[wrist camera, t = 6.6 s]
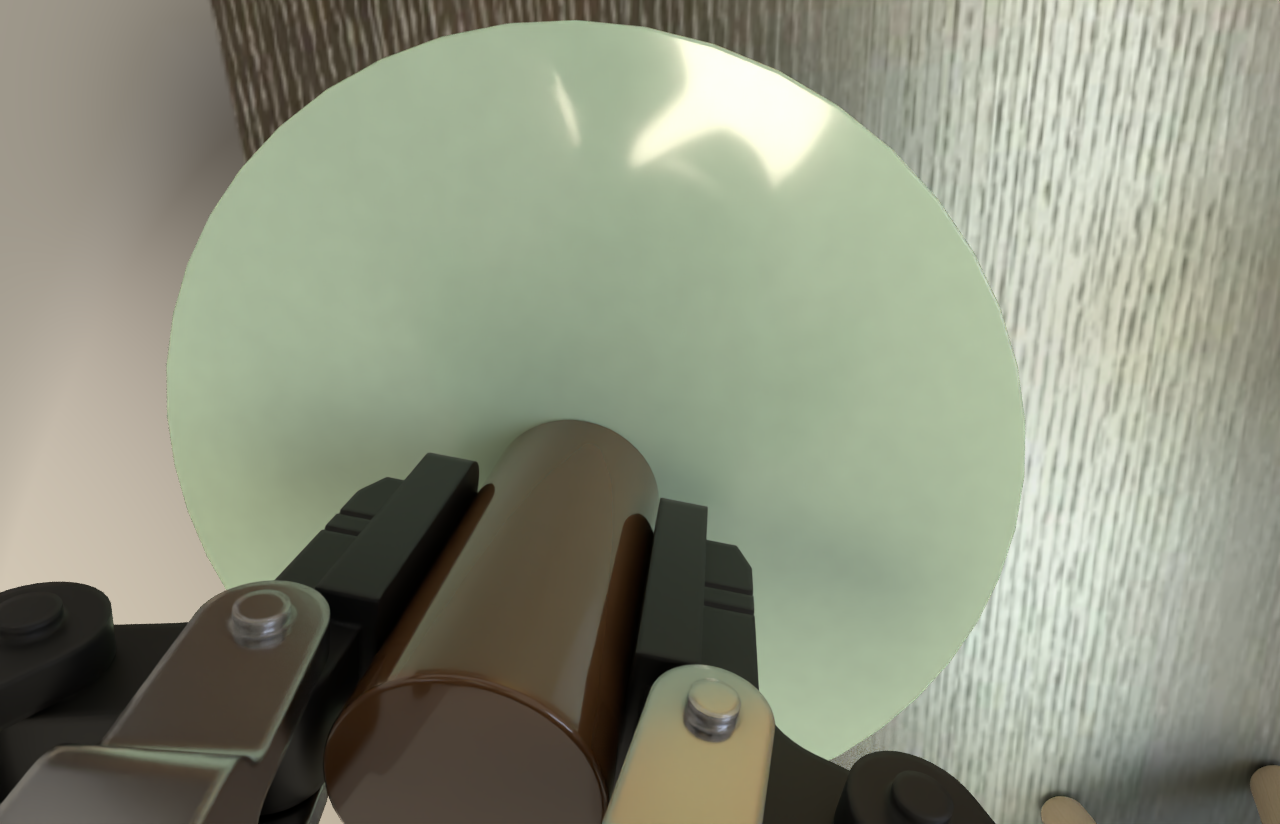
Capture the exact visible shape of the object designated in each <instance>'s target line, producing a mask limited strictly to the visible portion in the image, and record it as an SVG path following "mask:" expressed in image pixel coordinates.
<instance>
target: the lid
mask: <svg viewBox="0 0 1280 824" xmlns="http://www.w3.org/2000/svg"><path fill="white" fill-rule="evenodd" d="M166 365H167V366H166V374H167V375H166V376H167V419H168V425H169V431H170V438H171V445H172V451H173V458H174V465H175V468H176V472H177V475H178V479H179V482H180V486H181V489H182V493H183V496H184V500H185V503H186V507H187V510H188V513H189V515H190V517H191V520H192V522H193V524H194V527H195V529H196V532H197V534H198V536H199V539H200V541H201V543H202V546H203V548H204V550H205V552H206V555H207V557H208V559H209V561H210V562H211V564H212V566H213V568H214V569H215V571H216V573H217V575H218V576H219V578H220V580H221V581H222V583H223V585H224V587H225V589H226V590H228V589H231V588H234V587H237V586H240V585H243V584H248V583H252V582H259V581H271V580H275V579H276V578H277V577H278V576H279V575H280V574H281V572H282V571H283V570H284V569H285V568H286V567H287V566H288V565H289V564H290V563H291V562H292V561H293V560H294V559H295V557H296V556H297V555H298V554H299V553H300V552H301V551H302V550H303V549H304V548H305V547H306V546H307V545H308V544H309V542H310V541H311V540H312V539H313V538H314V537H315V536H316V535H317V534H318V533H319V532H320V531H321V530H324V529H325V525H326V524H327V523H328V522H329V521H330V520H331V519H332V518H333V517H334V516H335V515H336V514H337V513H338V514H339V513H340V509H341V508H342V507H343V506H344V505H345V504H346V503H347V502H348V501H349V500H350V499H351V497H352V496H353V495H354V494H355V493H356V492H357V491H358V490H360V489H362V488H364V487H366V486H369V485H371V484H373V483H375V482H377V481H379V480H381V479H383V478H385V477H390V478H395V479H400V480H405V479H406V477H407V476H408V475H409V474H410V473H411V472H412V470H413V469H414V468H415V467H416V466H417V464H418V463H419V462H420V461H421V460H422V458H423V457H424V456H425V455H426V454H427V453H429V452H431V453H436V454H441V455H446V456H452V457H457V458H462V459H467V460H472V461H476V462H478V465H479V483H478V493H477V495H476V496H475V498H474V499H473V501H472V503H471V504H470V506H469V507H468V509H467V511H466V512H465V514H464V515H463V517H462V518H461V520H460V522H459V523H458V525H457V526H456V528H455V530H454V531H453V533H452V534H451V536H450V538H449V539H448V541H447V542H446V544H445V546H444V547H443V549H442V550H441V552H440V553H439V555H438V557H437V558H436V560H435V561H434V563H433V565H432V566H431V568H430V569H429V571H428V573H427V574H426V576H425V577H424V579H423V581H422V582H421V584H420V585H419V587H418V588H417V590H416V592H415V593H414V595H413V596H412V598H411V600H410V601H409V603H408V604H407V606H406V608H405V609H404V611H403V612H402V614H401V616H400V617H399V619H398V620H397V622H396V623H395V625H394V627H393V628H392V630H391V631H390V633H389V635H388V636H387V638H386V639H385V641H384V643H383V644H382V646H381V647H380V649H379V651H378V652H377V654H376V655H375V657H374V658H373V660H372V662H371V663H370V665H369V666H368V668H367V670H366V671H365V673H364V674H363V676H362V678H361V679H360V681H359V682H358V684H357V686H356V687H355V689H354V690H353V692H352V693H351V695H350V697H349V698H348V700H347V701H346V703H345V705H344V706H343V708H342V709H341V711H340V713H339V714H338V716H337V717H336V719H335V721H334V722H333V724H332V726H331V728H330V731H329V733H328V735H327V739H326V742H325V746H324V754H323V777H324V782H325V786H326V790H327V794H328V796H329V799H330V801H331V803H332V806H333V808H334V809H335V811H336V813H337V815H338V816H339V818H340V820H341V821H342V822H343V824H602V821H603V818H604V816H605V813H606V810H607V807H608V805H609V802H610V799H611V796H612V794H613V788H614V782H615V776H616V770H617V764H618V758H619V751H620V745H621V739H622V733H623V724H624V708H625V702H626V696H627V690H628V684H629V678H630V671H631V665H632V659H633V653H634V647H635V641H636V635H637V629H638V623H639V617H640V611H641V605H642V599H643V593H644V587H645V581H646V575H647V569H648V562H649V556H650V550H651V544H652V538H653V532H654V527H655V522H656V517H657V512H658V507H659V502H660V498H666V499H671V500H677V501H682V502H687V503H692V504H697V505H702V506H707V507H708V516H707V540H711V541H716V542H721V543H726V544H731V545H736V546H737V547H738V548H739V550H740V551H741V552H742V554H743V555H744V557H745V558H746V560H747V561H748V563H749V564H750V566H751V567H752V576H753V596H754V616H755V628H756V646H757V663H758V681H759V691H760V693H761V694H762V695H763V696H764V697H765V699H766V700H767V702H768V703H769V705H770V707H771V709H772V712H773V715H774V719H775V725H776V726H777V727H778V728H779V729H780V730H781V731H782V732H783V733H784V734H785V735H786V736H787V737H789V738H790V739H791V740H792V741H794V742H795V743H797V744H798V745H800V746H801V747H803V748H804V749H806V750H808V751H810V752H812V753H814V754H815V755H818V756H820V757H822V758H824V759H826V760H828V761H829V760H831V759H833V758H835V757H837V756H839V755H841V754H843V753H844V752H846V751H847V750H849V749H851V748H852V747H854V746H855V745H857V744H858V743H860V742H861V741H863V740H864V739H866V738H867V737H869V736H870V735H872V734H874V733H875V732H877V731H878V730H880V729H881V728H882V727H884V726H885V725H886V724H887V723H888V722H889V721H891V720H892V719H893V718H894V717H895V716H897V715H898V714H899V713H900V712H901V711H902V710H904V709H905V708H906V707H907V706H908V705H910V704H911V703H912V702H913V701H914V700H915V699H917V698H918V697H919V695H920V694H921V693H922V692H923V691H924V690H925V689H926V688H927V687H928V686H929V685H930V683H931V682H932V681H933V680H934V679H935V678H936V677H937V676H938V675H939V674H940V673H941V671H942V670H943V669H944V668H945V667H946V666H947V665H948V664H949V663H950V661H951V660H952V658H953V657H954V655H955V654H956V652H957V651H958V650H959V648H960V647H961V645H962V644H963V642H964V641H965V639H966V638H967V637H968V635H969V634H970V632H971V631H972V629H973V628H974V626H975V625H976V624H977V622H978V620H979V618H980V616H981V614H982V612H983V610H984V608H985V606H986V604H987V602H988V600H989V598H990V596H991V594H992V592H993V590H994V588H995V586H996V584H997V582H998V580H999V578H1000V575H1001V571H1002V568H1003V565H1004V562H1005V559H1006V556H1007V553H1008V550H1009V547H1010V544H1011V541H1012V538H1013V535H1014V532H1015V528H1016V522H1017V517H1018V511H1019V505H1020V499H1021V493H1022V487H1023V481H1024V466H1025V416H1024V409H1023V402H1022V395H1021V388H1020V380H1019V373H1018V366H1017V362H1016V359H1015V355H1014V352H1013V349H1012V345H1011V342H1010V339H1009V335H1008V332H1007V329H1006V325H1005V322H1004V319H1003V315H1002V312H1001V309H1000V306H999V304H998V302H997V300H996V298H995V296H994V294H993V292H992V289H991V287H990V285H989V283H988V281H987V279H986V277H985V275H984V273H983V271H982V268H981V266H980V264H979V262H978V260H977V258H976V256H975V254H974V252H973V250H972V249H971V247H970V246H969V244H968V243H967V241H966V240H965V238H964V237H963V235H962V234H961V232H960V231H959V230H958V228H957V227H956V225H955V224H954V222H953V221H952V219H951V218H950V216H949V215H948V213H947V212H946V210H945V209H944V207H943V206H942V204H941V203H940V201H939V200H938V199H937V197H936V196H935V195H934V194H933V193H932V192H931V191H930V190H929V189H928V188H927V187H926V185H925V184H924V183H923V182H922V181H921V180H920V179H919V178H918V177H917V176H916V175H915V173H914V172H913V171H912V170H911V169H910V168H909V167H908V166H907V165H906V164H905V163H904V161H903V160H902V159H901V158H900V157H899V156H898V155H897V154H896V153H895V152H894V151H893V150H892V149H891V148H890V147H889V146H888V145H886V144H885V143H884V142H883V141H881V140H880V139H879V138H878V137H876V136H875V135H874V134H873V133H871V132H870V131H869V130H868V129H867V128H865V127H864V126H863V125H862V124H860V123H859V122H858V121H857V120H855V119H854V118H853V117H852V116H851V115H849V114H848V113H847V112H846V111H844V110H843V109H842V108H841V107H839V106H838V105H836V104H834V103H833V102H831V101H829V100H828V99H826V98H824V97H823V96H821V95H819V94H817V93H816V92H814V91H812V90H811V89H809V88H807V87H806V86H804V85H802V84H801V83H799V82H797V81H796V80H794V79H792V78H791V77H789V76H787V75H785V74H784V73H782V72H780V71H778V70H776V69H774V68H771V67H769V66H766V65H764V64H761V63H759V62H757V61H754V60H752V59H749V58H747V57H744V56H742V55H740V54H737V53H735V52H732V51H730V50H727V49H725V48H723V47H720V46H718V45H715V44H712V43H708V42H704V41H700V40H696V39H692V38H688V37H684V36H680V35H676V34H672V33H668V32H664V31H660V30H656V29H652V28H648V27H642V26H632V25H622V24H612V23H602V22H592V21H582V20H564V21H543V22H522V23H506V24H501V25H496V26H491V27H486V28H481V29H476V30H471V31H467V32H462V33H457V34H452V35H447V36H442V37H439V38H437V39H434V40H431V41H428V42H426V43H423V44H420V45H417V46H415V47H412V48H409V49H407V50H404V51H401V52H398V53H396V54H393V55H390V56H387V57H385V58H382V59H380V60H378V61H377V62H375V63H373V64H371V65H369V66H368V67H366V68H364V69H362V70H360V71H359V72H357V73H355V74H353V75H351V76H350V77H348V78H346V79H344V80H342V81H341V82H339V83H337V84H335V85H333V86H332V87H330V88H328V89H327V90H325V91H324V92H323V93H321V94H320V95H319V96H318V97H316V98H315V99H314V100H313V101H311V102H310V103H309V104H307V105H306V106H305V107H304V108H302V109H301V110H300V111H299V112H297V113H296V114H295V115H293V116H292V117H291V118H290V119H288V120H287V121H286V122H285V123H283V124H282V125H281V126H280V127H279V128H278V129H277V130H276V131H275V132H274V133H273V134H272V135H271V136H270V137H269V139H268V140H267V141H266V142H265V143H264V144H263V145H262V146H261V147H260V148H259V149H258V150H257V152H256V153H255V154H254V155H253V156H252V157H251V158H250V159H249V160H248V161H247V162H246V163H245V165H244V166H243V167H242V168H241V169H240V171H239V172H238V174H237V175H236V177H235V178H234V180H233V181H232V183H231V184H230V186H229V187H228V189H227V190H226V192H225V193H224V195H223V196H222V198H221V199H220V201H219V202H218V204H217V205H216V207H215V208H214V210H213V211H212V213H211V214H210V216H209V218H208V220H207V223H206V225H205V227H204V229H203V231H202V233H201V236H200V238H199V240H198V242H197V244H196V246H195V249H194V251H193V253H192V255H191V257H190V260H189V262H188V264H187V267H186V270H185V274H184V278H183V281H182V285H181V288H180V292H179V295H178V299H177V302H176V306H175V309H174V313H173V318H172V326H171V333H170V341H169V349H168V357H167V364H166Z"/></svg>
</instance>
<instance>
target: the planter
mask: <svg viewBox="0 0 1280 824" xmlns="http://www.w3.org/2000/svg"><path fill="white" fill-rule="evenodd" d="M1250 788H1251V791H1252V794H1253V797H1254V800H1255V803H1256V806H1257V809H1258V812H1259V815H1260V818H1261V822H1262V824H1280V766H1278V765H1269V766H1265V767H1262V768H1260V769H1258V770H1257V771H1256V772H1255V773H1254V774H1253V775H1252V777H1251V780H1250ZM1041 818H1042V822H1043V824H1097V823H1096V822H1095V821H1094V820H1093V818H1092V817H1091V816H1090V815H1089V814H1088V812H1087V811H1086V810H1085V809H1084V807H1083V806H1082V805H1081V804H1080V803H1079V802H1077V801H1076V800H1074V799H1072V798H1069V797H1065V796H1057V797H1053V798H1051V799H1049V800H1047V801H1046V802H1045V803H1044V805H1043V806H1042V809H1041Z"/></svg>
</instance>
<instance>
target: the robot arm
mask: <svg viewBox="0 0 1280 824" xmlns="http://www.w3.org/2000/svg"><path fill="white" fill-rule="evenodd" d="M478 483H479V465H478V462H476V461H472V460H467V459H462V458H457V457H452V456H446V455H441V454H436V453H431V452H429V453H427V454H426V455H425V456H424V457H423V458H422V460H421V461H420V462H419V463H418V464H417V466H416V467H415V468H414V469H413V470H412V472H411V473H410V474H409V475H408V476H407V477H406V479H405V480H400V479H395V478H390V477H385V478H383V479H381V480H379V481H377V482H375V483H373V484H371V485H369V486H366V487H364V488H362V489H360V490H358V491H357V492H356V493H355V494H354V495H353V496H352V497H351V499H350V500H349V501H348V502H347V503H346V504H345V505H344V506H343V507H342V508H341V509H340V513H339V514H338V513H337V514H336V515H335V516H334V517H333V518H332V519H331V520H330V521H329V522H328V523H327V524H326V525H325V529H324V530H321V531H320V532H319V533H318V534H317V535H316V536H315V537H314V538H313V539H312V540H311V541H310V542H309V544H308V545H307V546H306V547H305V548H304V549H303V550H302V551H301V552H300V553H299V554H298V555H297V556H296V557H295V559H294V560H293V561H292V562H291V563H290V564H289V565H288V566H287V567H286V568H285V569H284V570H283V571H282V572H281V574H280V575H279V576H278V577H277V578H276V579H275V580H271V581H259V582H252V583H248V584H243V585H240V586H237V587H234V588H231V589H228V590H226V591H224V592H222V593H220V594H218V595H216V596H215V597H213V598H211V599H210V600H208V601H207V602H206V603H205V604H203V605H202V606H201V607H200V609H199V610H198V611H197V612H196V613H195V614H194V616H193V617H192V619H191V620H190V621H189V622H185V623H164V624H129V625H128V624H126V625H114V624H113V617H112V609H111V603H110V601H109V599H108V597H107V596H106V595H105V594H104V593H103V592H102V591H100V590H98V589H96V588H94V587H91V586H89V585H85V584H80V583H73V582H46V583H36V584H31V585H25V586H21V587H17V588H13V589H10V590H6V591H4V592H1V593H0V824H319V821H320V818H321V816H322V813H323V810H324V807H325V805H326V802H327V798H328V794H327V790H326V786H325V782H324V777H323V754H324V746H325V742H326V739H327V735H328V733H329V731H330V728H331V726H332V724H333V722H334V721H335V719H336V717H337V716H338V714H339V713H340V711H341V709H342V708H343V706H344V705H345V703H346V701H347V700H348V698H349V697H350V695H351V693H352V692H353V690H354V689H355V687H356V686H357V684H358V682H359V681H360V679H361V678H362V676H363V674H364V673H365V671H366V670H367V668H368V666H369V665H370V663H371V662H372V660H373V658H374V657H375V655H376V654H377V652H378V651H379V649H380V647H381V646H382V644H383V643H384V641H385V639H386V638H387V636H388V635H389V633H390V631H391V630H392V628H393V627H394V625H395V623H396V622H397V620H398V619H399V617H400V616H401V614H402V612H403V611H404V609H405V608H406V606H407V604H408V603H409V601H410V600H411V598H412V596H413V595H414V593H415V592H416V590H417V588H418V587H419V585H420V584H421V582H422V581H423V579H424V577H425V576H426V574H427V573H428V571H429V569H430V568H431V566H432V565H433V563H434V561H435V560H436V558H437V557H438V555H439V553H440V552H441V550H442V549H443V547H444V546H445V544H446V542H447V541H448V539H449V538H450V536H451V534H452V533H453V531H454V530H455V528H456V526H457V525H458V523H459V522H460V520H461V518H462V517H463V515H464V514H465V512H466V511H467V509H468V507H469V506H470V504H471V503H472V501H473V499H474V498H475V496H476V495H477V493H478ZM707 516H708V507H707V506H702V505H697V504H692V503H687V502H682V501H677V500H671V499H666V498H660V502H659V507H658V512H657V517H656V522H655V527H654V532H653V538H652V544H651V550H650V556H649V562H648V569H647V575H646V581H645V587H644V593H643V599H642V605H641V611H640V617H639V623H638V629H637V635H636V641H635V647H634V653H633V659H632V665H631V671H630V678H629V684H628V690H627V696H626V702H625V708H624V724H623V733H622V739H621V745H620V751H619V758H618V764H617V770H616V776H615V782H614V788H613V794H612V796H611V799H610V802H609V805H608V807H607V810H606V813H605V816H604V818H603V821H602V824H995V823H994V821H993V820H992V819H991V818H990V816H989V815H988V814H987V813H986V811H985V810H984V809H983V808H982V807H981V805H980V804H979V803H978V802H977V800H976V799H975V798H974V797H973V796H972V794H971V793H970V792H969V791H968V790H967V789H966V788H965V787H964V786H963V785H962V784H961V783H960V782H959V781H958V780H956V779H955V778H954V777H953V776H951V775H950V774H949V773H947V772H946V771H944V770H943V769H941V768H940V767H938V766H936V765H934V764H933V763H931V762H929V761H926V760H924V759H922V758H920V757H917V756H914V755H911V754H907V753H902V752H897V751H879V752H874V753H870V754H867V755H865V756H863V757H862V758H860V759H859V760H858V761H857V762H856V763H854V765H853V767H852V768H851V770H850V771H849V770H847V769H845V768H843V767H841V766H839V765H837V764H834V763H832V762H830V761H828V760H826V759H824V758H822V757H820V756H818V755H815V754H814V753H812V752H810V751H808V750H806V749H804V748H803V747H801V746H800V745H798V744H797V743H795V742H794V741H792V740H791V739H790V738H789V737H787V736H786V735H785V734H784V733H783V732H782V731H781V730H780V729H779V728H778V727H777V726H776V725H775V719H774V715H773V712H772V709H771V707H770V705H769V703H768V702H767V700H766V699H765V697H764V696H763V695H762V694H761V693H760V691H759V681H758V663H757V646H756V628H755V616H754V596H753V576H752V567H751V566H750V564H749V563H748V561H747V560H746V558H745V557H744V555H743V554H742V552H741V551H740V550H739V548H738V547H737V546H736V545H731V544H726V543H721V542H716V541H711V540H707Z"/></svg>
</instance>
